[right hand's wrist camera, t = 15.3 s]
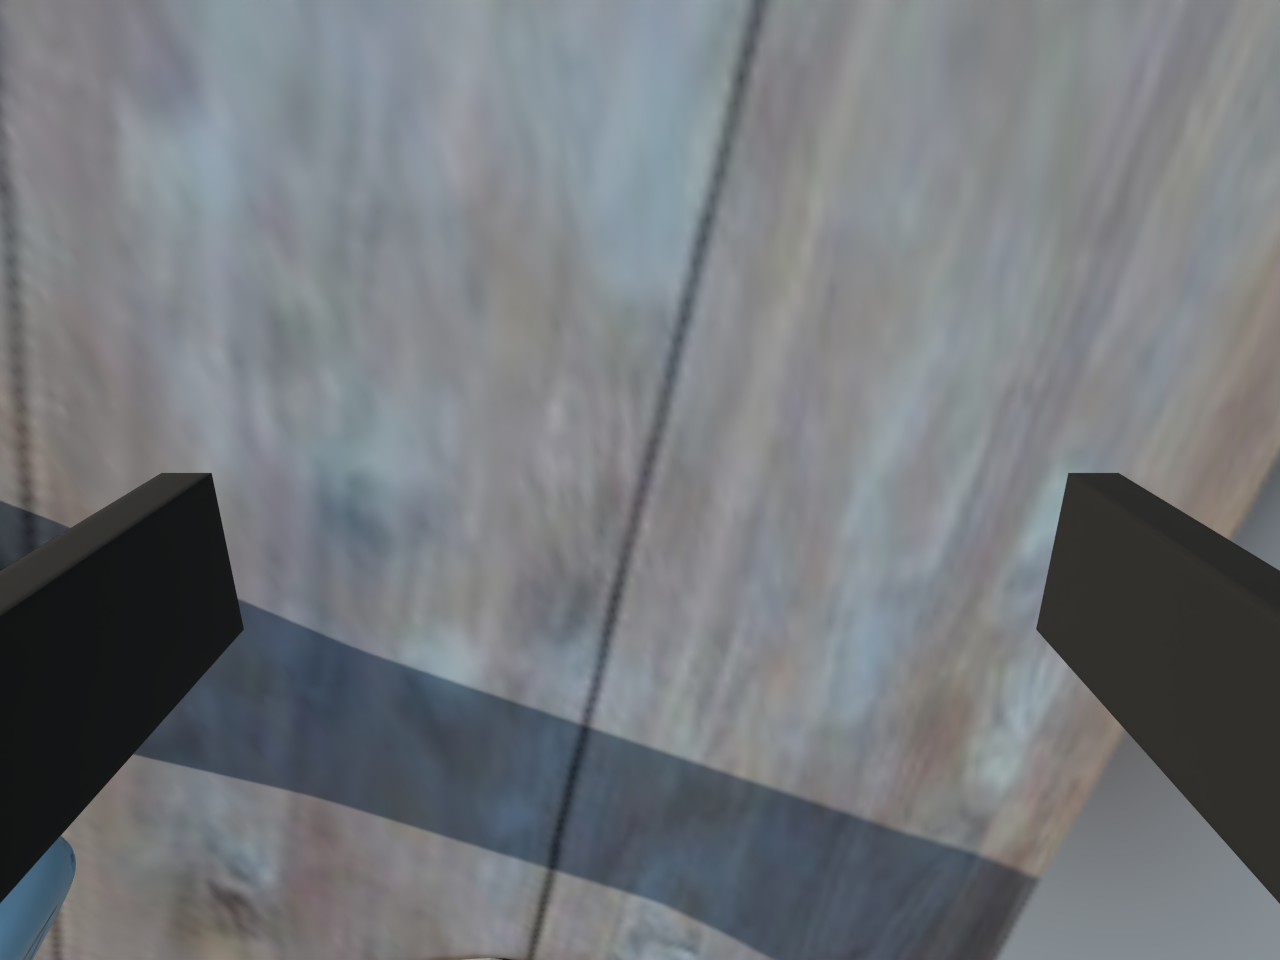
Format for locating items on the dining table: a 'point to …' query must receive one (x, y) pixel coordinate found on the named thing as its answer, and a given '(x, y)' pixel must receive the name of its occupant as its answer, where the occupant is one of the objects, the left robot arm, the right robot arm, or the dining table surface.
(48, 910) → the left robot arm
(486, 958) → the wall clock
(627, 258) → the dining table surface
